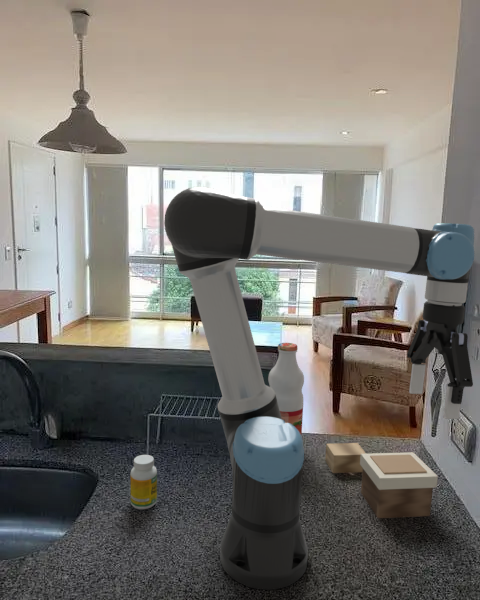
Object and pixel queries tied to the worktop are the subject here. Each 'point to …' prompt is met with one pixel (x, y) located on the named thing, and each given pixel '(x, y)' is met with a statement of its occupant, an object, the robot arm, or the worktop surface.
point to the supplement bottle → (143, 482)
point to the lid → (398, 471)
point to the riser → (344, 457)
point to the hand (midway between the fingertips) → (432, 405)
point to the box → (396, 500)
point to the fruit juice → (288, 385)
